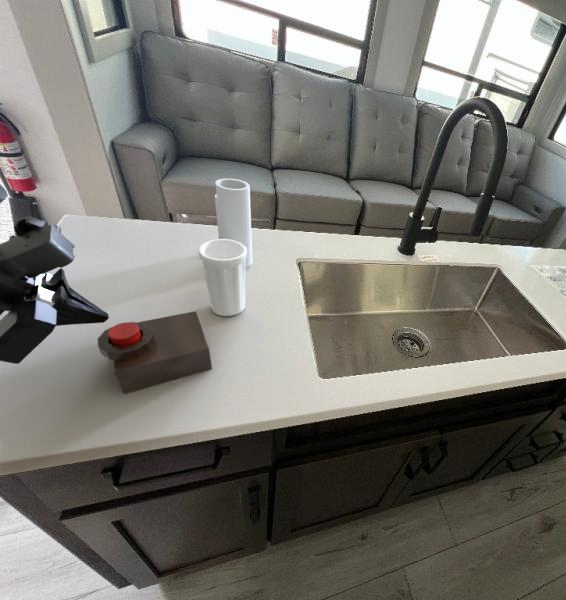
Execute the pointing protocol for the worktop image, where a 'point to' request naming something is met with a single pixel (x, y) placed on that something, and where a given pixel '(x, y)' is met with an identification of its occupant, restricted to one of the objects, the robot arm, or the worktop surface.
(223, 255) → the cup
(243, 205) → the vase
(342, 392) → the worktop surface
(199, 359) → the switch block
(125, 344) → the led button
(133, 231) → the worktop surface
